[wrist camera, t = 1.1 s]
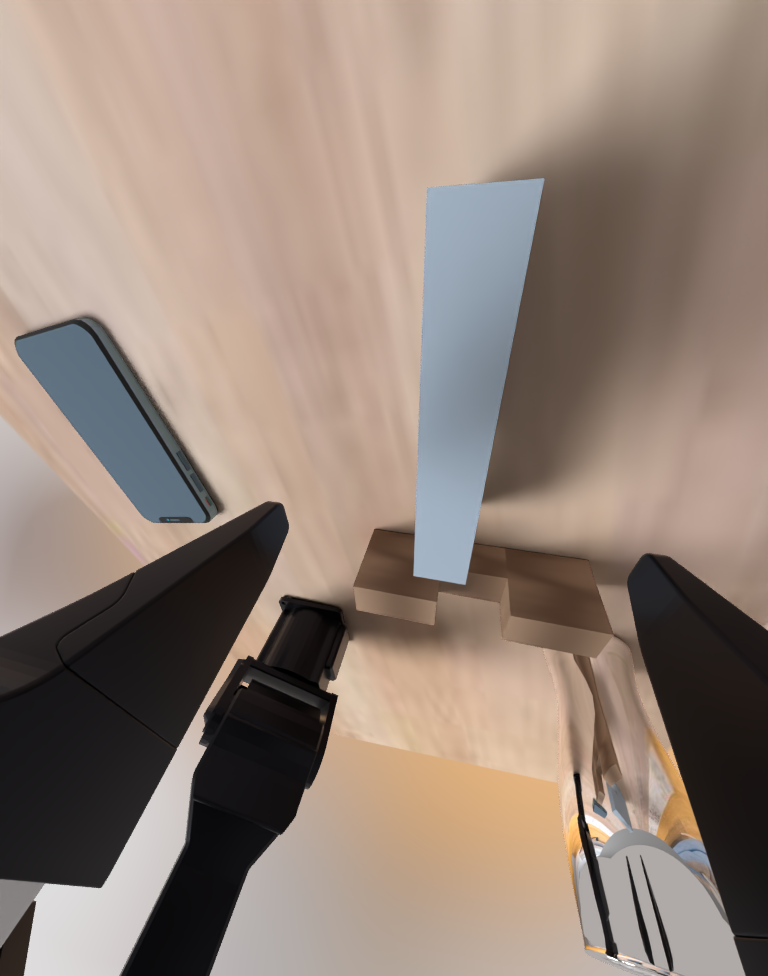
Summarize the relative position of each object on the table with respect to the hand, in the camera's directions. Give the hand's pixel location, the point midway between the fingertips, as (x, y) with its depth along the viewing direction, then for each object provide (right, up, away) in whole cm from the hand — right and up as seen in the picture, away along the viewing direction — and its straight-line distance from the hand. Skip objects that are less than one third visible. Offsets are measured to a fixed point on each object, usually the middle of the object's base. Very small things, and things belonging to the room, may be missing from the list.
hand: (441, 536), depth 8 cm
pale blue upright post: (+2, +6, +8) cm, 10 cm away
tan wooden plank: (+5, -3, +14) cm, 15 cm away
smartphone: (-20, +5, +16) cm, 26 cm away
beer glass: (+15, -12, +18) cm, 26 cm away
